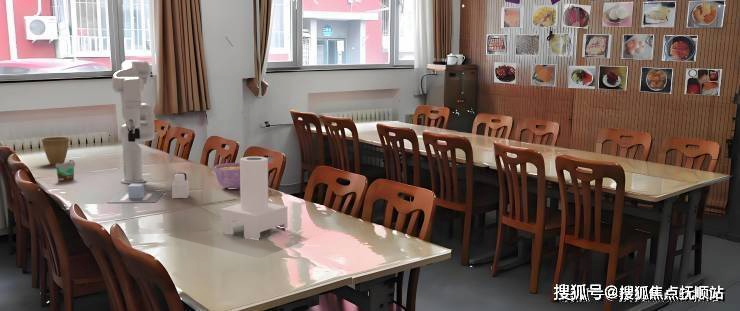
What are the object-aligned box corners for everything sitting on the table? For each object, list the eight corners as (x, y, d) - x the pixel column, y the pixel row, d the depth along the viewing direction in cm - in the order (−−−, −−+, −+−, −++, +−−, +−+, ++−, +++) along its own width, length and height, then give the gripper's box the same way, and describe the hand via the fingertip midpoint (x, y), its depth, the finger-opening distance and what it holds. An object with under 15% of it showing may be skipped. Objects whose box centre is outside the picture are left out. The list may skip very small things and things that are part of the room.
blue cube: (131, 195, 323) (131, 183, 322) (144, 195, 324) (143, 183, 323) (128, 198, 317) (128, 186, 316) (141, 198, 318) (140, 186, 317)
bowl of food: (260, 186, 350) (260, 165, 348) (238, 193, 332) (237, 171, 331) (230, 182, 359) (229, 161, 357) (206, 189, 341) (205, 167, 339)
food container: (66, 182, 351) (65, 164, 349) (56, 182, 352) (55, 163, 350) (81, 178, 362) (80, 160, 361) (71, 177, 364) (70, 159, 362)
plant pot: (75, 163, 404) (74, 138, 401) (52, 167, 391) (51, 140, 389) (61, 161, 412) (59, 135, 409) (38, 164, 399) (36, 138, 396)
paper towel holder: (256, 241, 254) (255, 164, 249) (221, 233, 264) (219, 159, 259) (287, 230, 270) (287, 158, 265) (253, 222, 280) (252, 153, 275)
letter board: (118, 192, 330) (118, 192, 330) (164, 192, 333) (164, 191, 333) (107, 203, 308) (106, 202, 308) (155, 202, 311) (155, 202, 311)
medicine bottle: (174, 195, 326) (173, 171, 324) (189, 195, 327) (188, 171, 325) (171, 198, 319) (171, 174, 317) (186, 198, 320) (186, 174, 318)
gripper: (128, 102, 321) (130, 137, 324) (120, 106, 304) (121, 142, 307) (144, 103, 322) (146, 137, 325) (136, 106, 305) (138, 142, 308)
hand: (134, 140), depth 316 cm, fingers open, 9 cm apart
